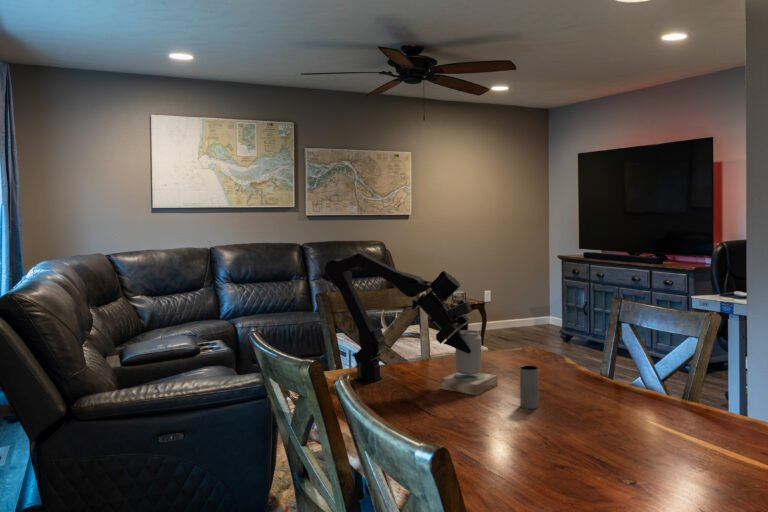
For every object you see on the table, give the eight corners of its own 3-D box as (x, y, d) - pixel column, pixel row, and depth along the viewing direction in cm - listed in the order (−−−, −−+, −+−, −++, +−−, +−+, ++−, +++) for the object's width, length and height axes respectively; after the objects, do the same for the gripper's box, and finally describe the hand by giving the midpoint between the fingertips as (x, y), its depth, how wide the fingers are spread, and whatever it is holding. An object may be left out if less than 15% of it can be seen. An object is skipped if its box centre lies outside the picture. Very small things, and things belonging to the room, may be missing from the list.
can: (469, 367, 184) (469, 328, 183) (486, 372, 178) (486, 331, 177) (450, 371, 180) (450, 330, 179) (467, 376, 174) (467, 334, 173)
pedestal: (440, 388, 178) (440, 377, 178) (462, 379, 188) (462, 369, 187) (477, 395, 171) (477, 384, 171) (497, 385, 180) (497, 374, 180)
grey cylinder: (518, 407, 159) (518, 368, 158) (523, 402, 163) (522, 364, 162) (535, 410, 157) (535, 370, 156) (540, 405, 161) (539, 366, 160)
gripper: (447, 295, 170) (486, 337, 167) (462, 288, 188) (498, 326, 184) (419, 322, 173) (458, 364, 170) (437, 312, 191) (472, 350, 188)
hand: (472, 349), depth 178 cm, fingers closed on can, 7 cm apart
